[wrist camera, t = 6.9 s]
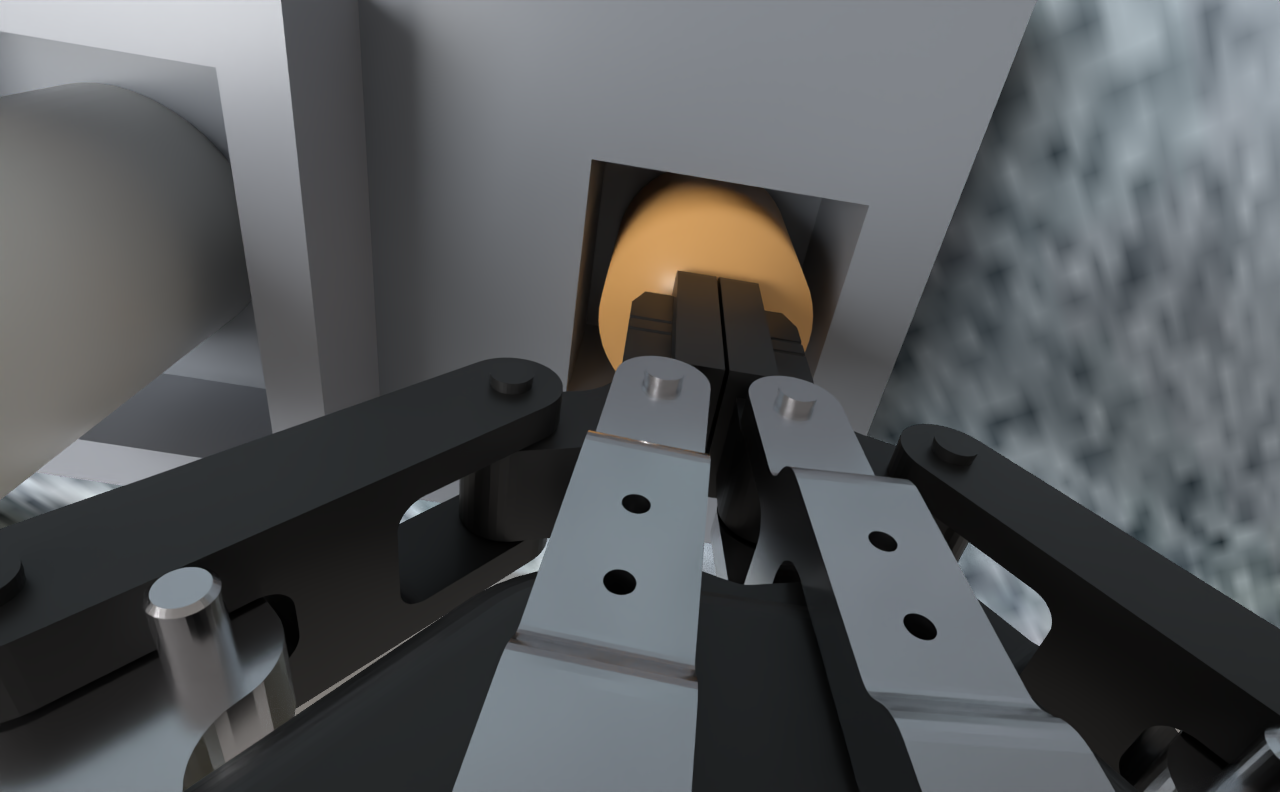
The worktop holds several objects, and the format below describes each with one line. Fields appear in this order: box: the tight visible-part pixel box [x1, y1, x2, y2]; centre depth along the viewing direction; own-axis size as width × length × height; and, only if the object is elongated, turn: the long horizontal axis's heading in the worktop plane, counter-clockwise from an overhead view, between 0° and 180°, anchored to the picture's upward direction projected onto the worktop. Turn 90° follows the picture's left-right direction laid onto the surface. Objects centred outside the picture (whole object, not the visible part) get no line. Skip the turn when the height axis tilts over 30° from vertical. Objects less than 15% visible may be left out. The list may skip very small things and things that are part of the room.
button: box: [599, 172, 813, 371], centre depth 15 cm, size 4×4×4 cm
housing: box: [0, 0, 1037, 544], centre depth 14 cm, size 20×12×6 cm, turn 82°
